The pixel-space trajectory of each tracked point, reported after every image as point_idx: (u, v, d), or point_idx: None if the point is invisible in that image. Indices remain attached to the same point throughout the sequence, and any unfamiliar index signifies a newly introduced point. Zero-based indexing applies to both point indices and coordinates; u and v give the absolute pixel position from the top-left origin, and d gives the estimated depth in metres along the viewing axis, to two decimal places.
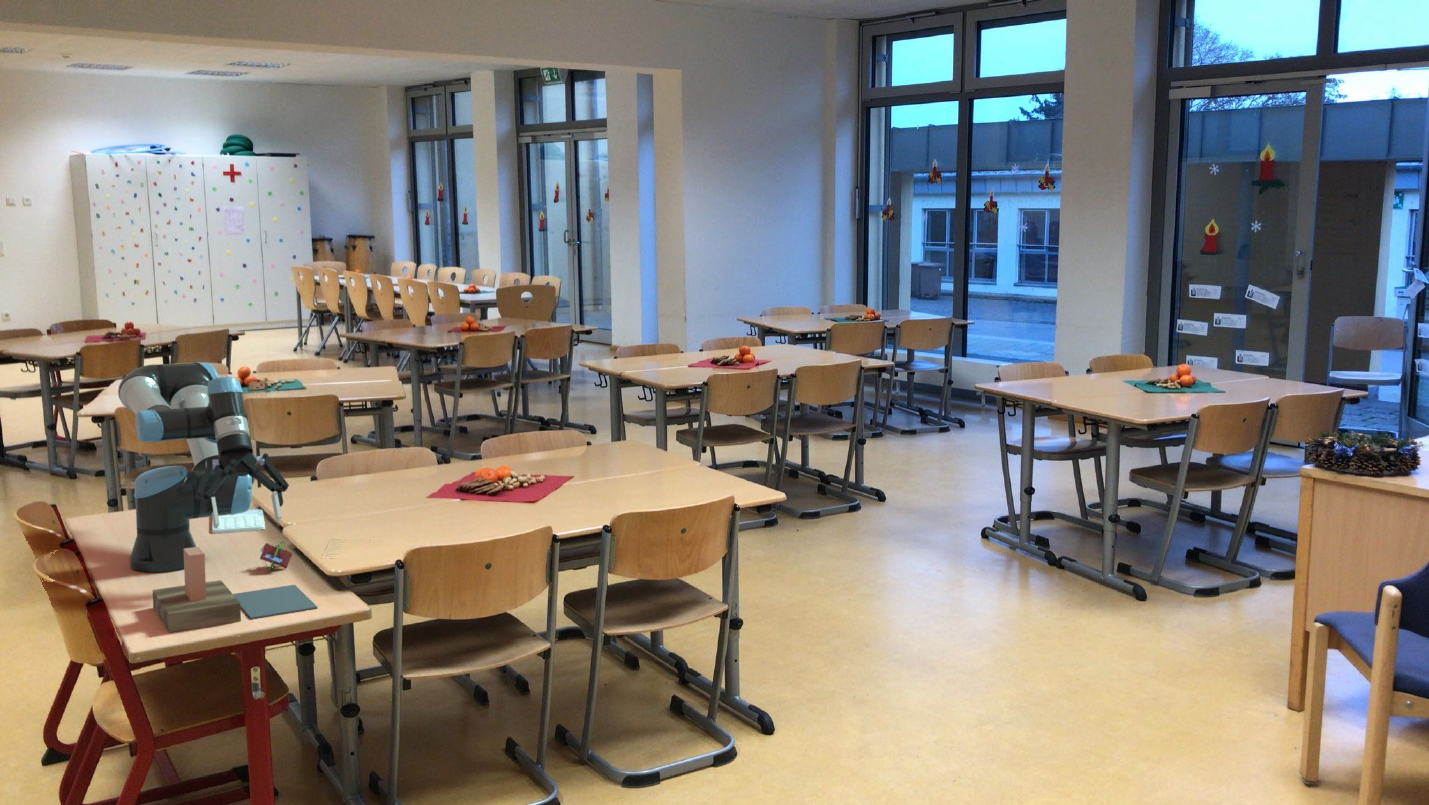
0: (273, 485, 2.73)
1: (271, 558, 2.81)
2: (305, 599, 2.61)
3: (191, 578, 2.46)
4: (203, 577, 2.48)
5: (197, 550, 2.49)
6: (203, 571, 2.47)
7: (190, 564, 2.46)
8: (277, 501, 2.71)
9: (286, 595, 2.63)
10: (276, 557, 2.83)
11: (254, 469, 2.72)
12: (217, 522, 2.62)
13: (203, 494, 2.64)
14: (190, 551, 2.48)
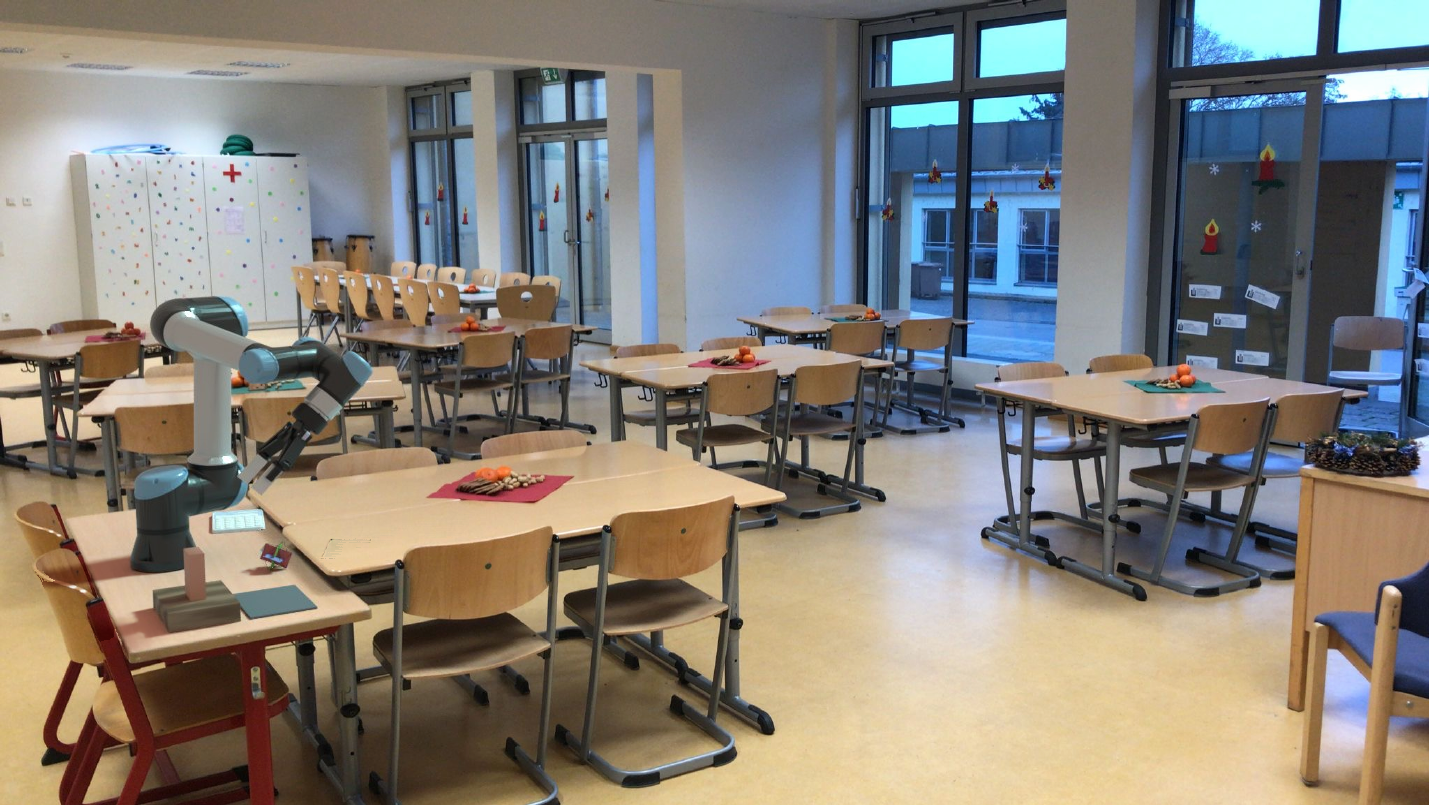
0: None
1: (271, 558, 2.81)
2: (305, 599, 2.61)
3: (191, 578, 2.46)
4: (203, 577, 2.48)
5: (197, 550, 2.49)
6: (203, 571, 2.47)
7: (190, 564, 2.46)
8: None
9: (286, 595, 2.63)
10: (276, 557, 2.83)
11: None
12: None
13: None
14: (190, 551, 2.48)
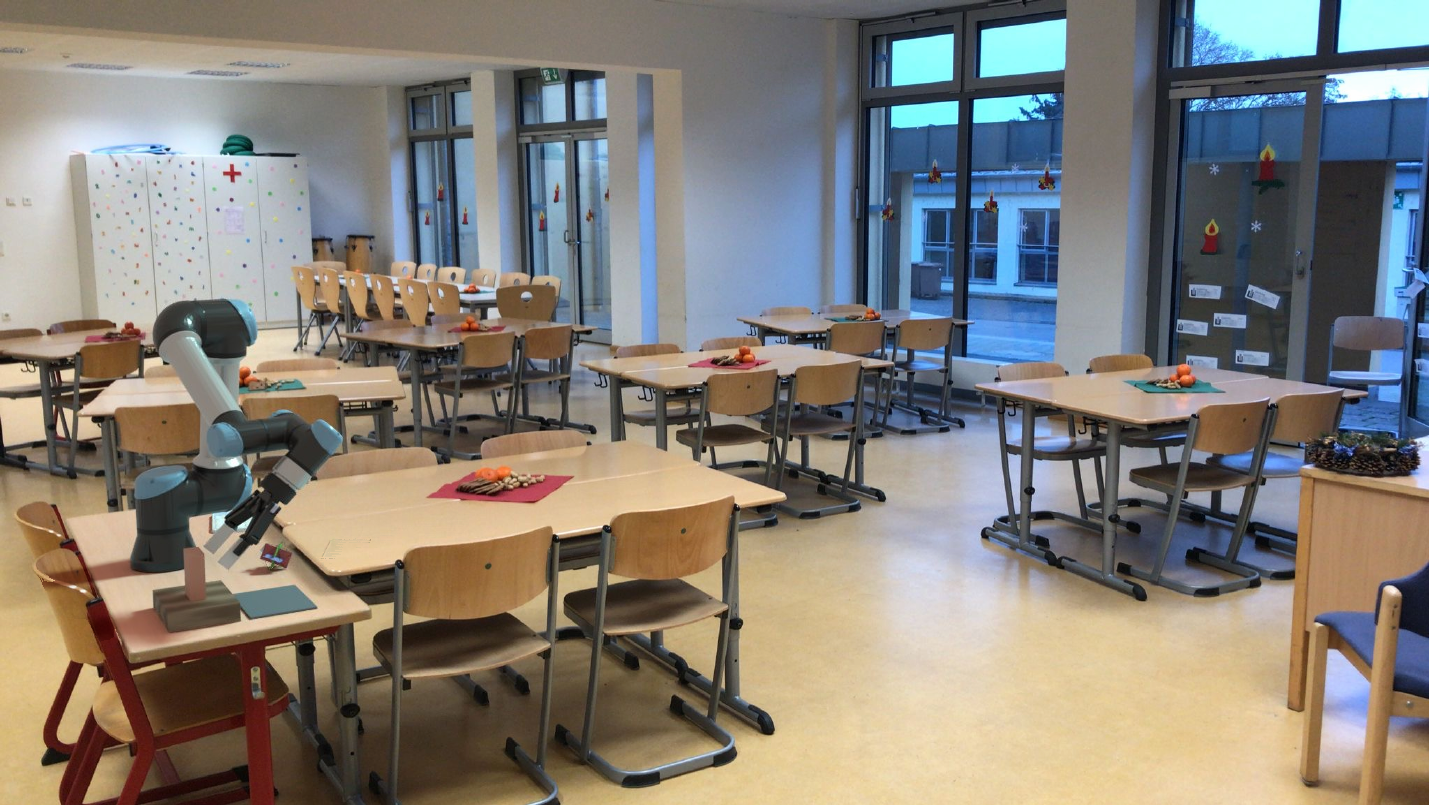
0: None
1: (271, 558, 2.81)
2: (305, 599, 2.61)
3: (191, 578, 2.46)
4: (203, 577, 2.48)
5: (197, 550, 2.49)
6: (203, 571, 2.47)
7: (190, 564, 2.46)
8: None
9: (286, 595, 2.63)
10: (276, 557, 2.83)
11: None
12: None
13: None
14: (190, 551, 2.48)
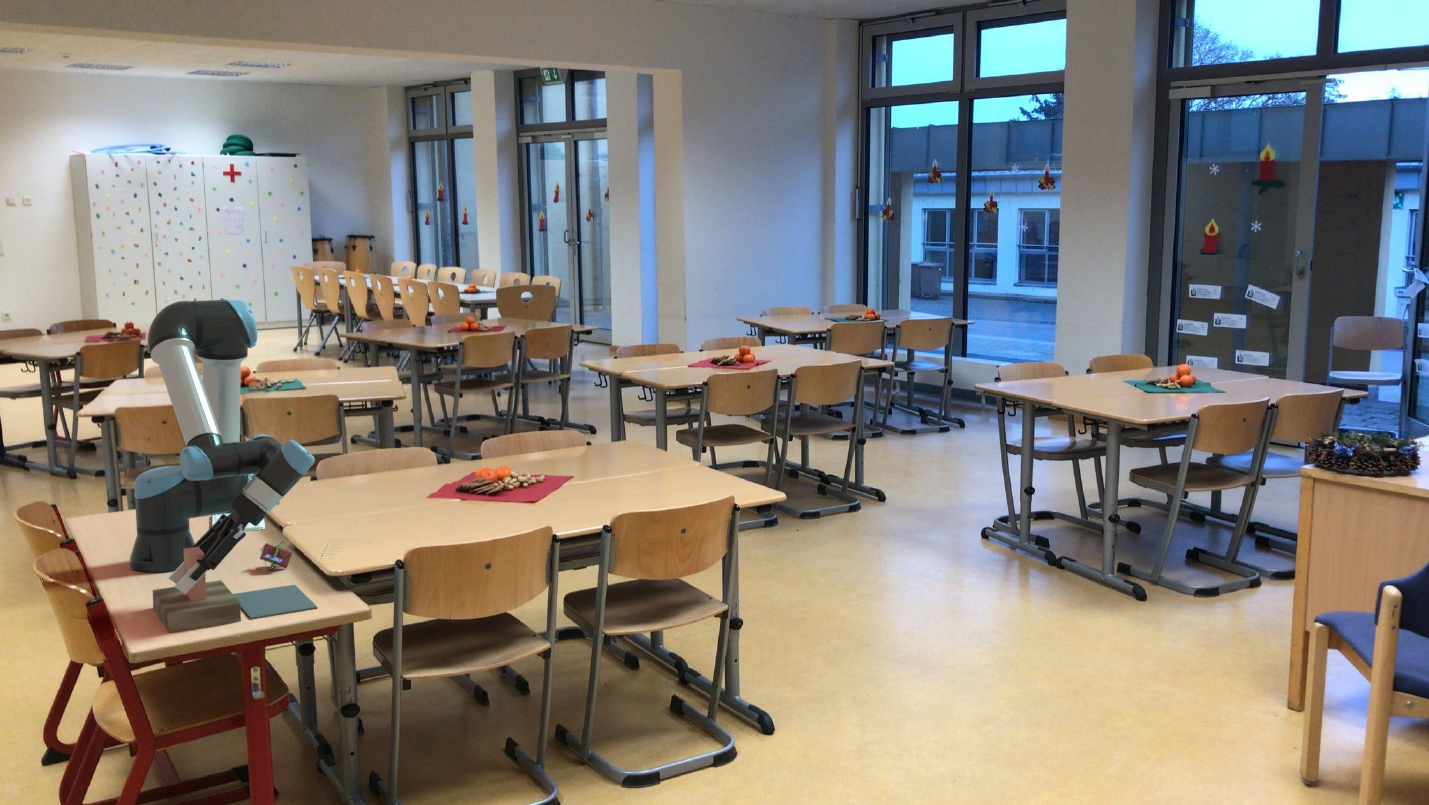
0: None
1: (271, 558, 2.81)
2: (305, 599, 2.61)
3: None
4: (203, 577, 2.48)
5: (197, 550, 2.49)
6: None
7: (190, 564, 2.46)
8: None
9: (286, 595, 2.63)
10: (276, 557, 2.83)
11: None
12: None
13: None
14: (190, 551, 2.48)
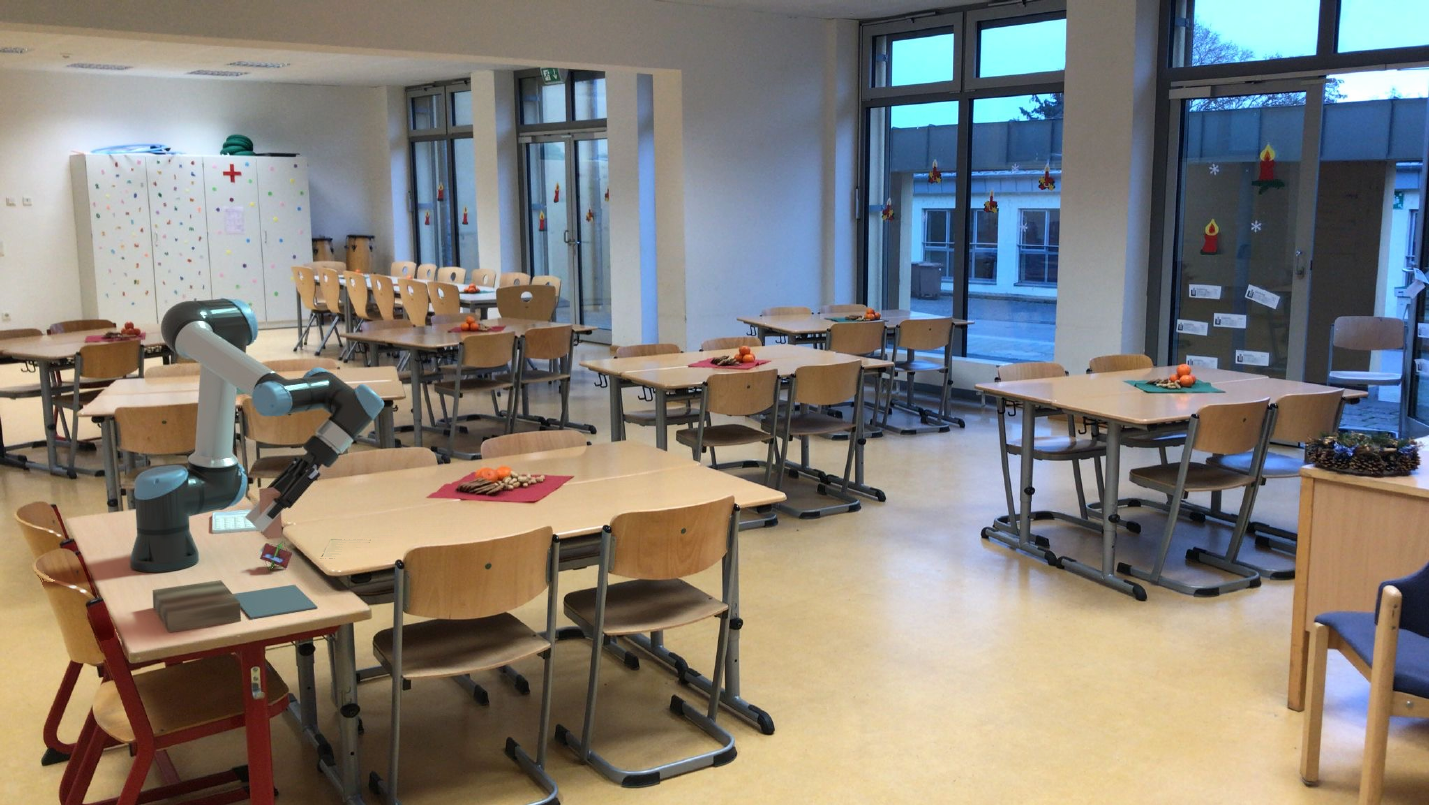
0: None
1: (271, 558, 2.81)
2: (305, 599, 2.61)
3: None
4: (279, 516, 2.55)
5: (273, 490, 2.56)
6: None
7: (267, 503, 2.53)
8: None
9: (286, 595, 2.63)
10: (276, 557, 2.83)
11: None
12: None
13: None
14: (266, 491, 2.55)
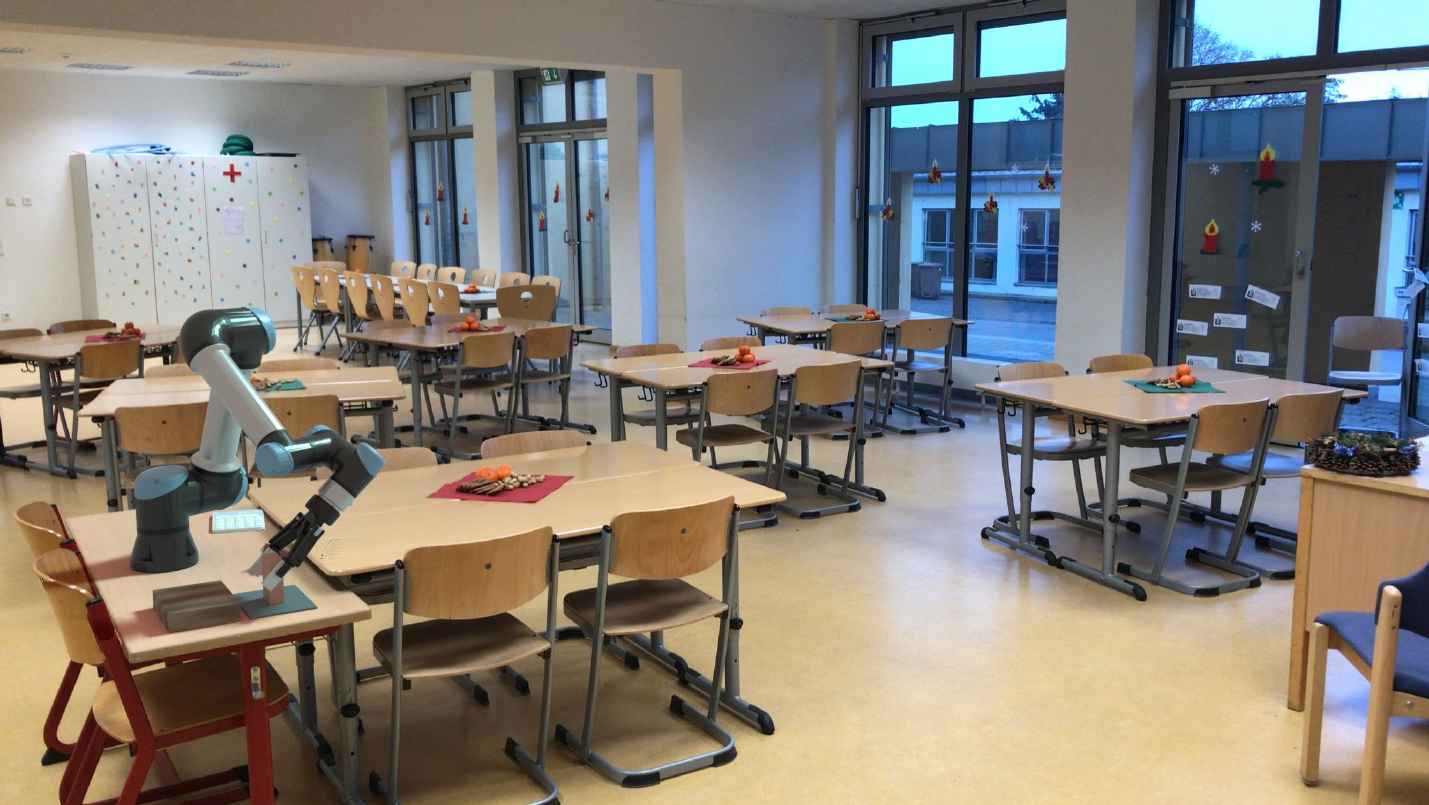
0: None
1: None
2: (305, 599, 2.61)
3: None
4: (281, 582, 2.57)
5: (275, 556, 2.59)
6: None
7: (269, 569, 2.55)
8: None
9: (286, 595, 2.63)
10: None
11: None
12: None
13: None
14: (269, 557, 2.58)
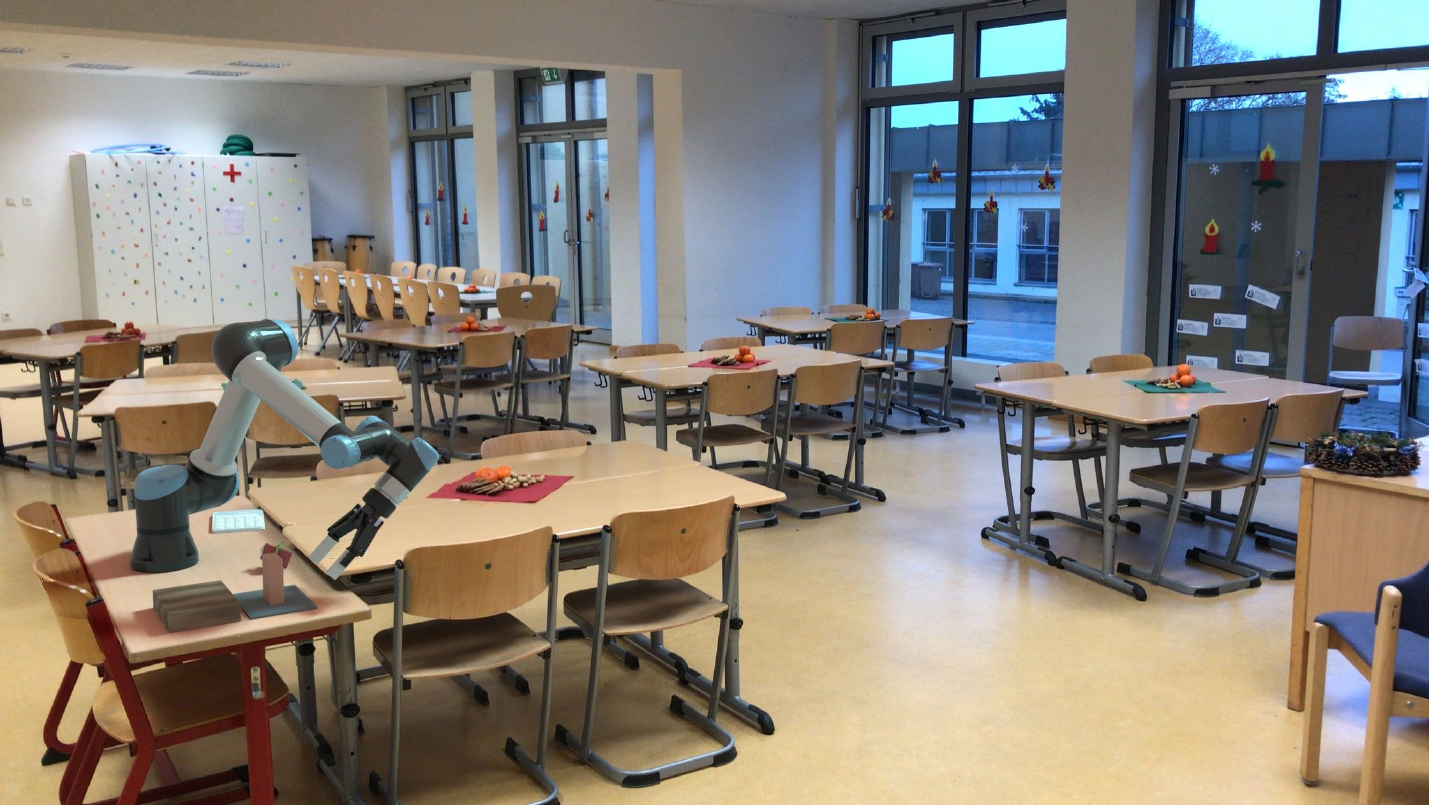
0: None
1: None
2: (305, 599, 2.61)
3: (270, 583, 2.56)
4: (281, 582, 2.57)
5: (275, 556, 2.59)
6: (281, 576, 2.57)
7: (269, 569, 2.55)
8: None
9: (286, 595, 2.63)
10: None
11: None
12: None
13: None
14: (269, 557, 2.58)
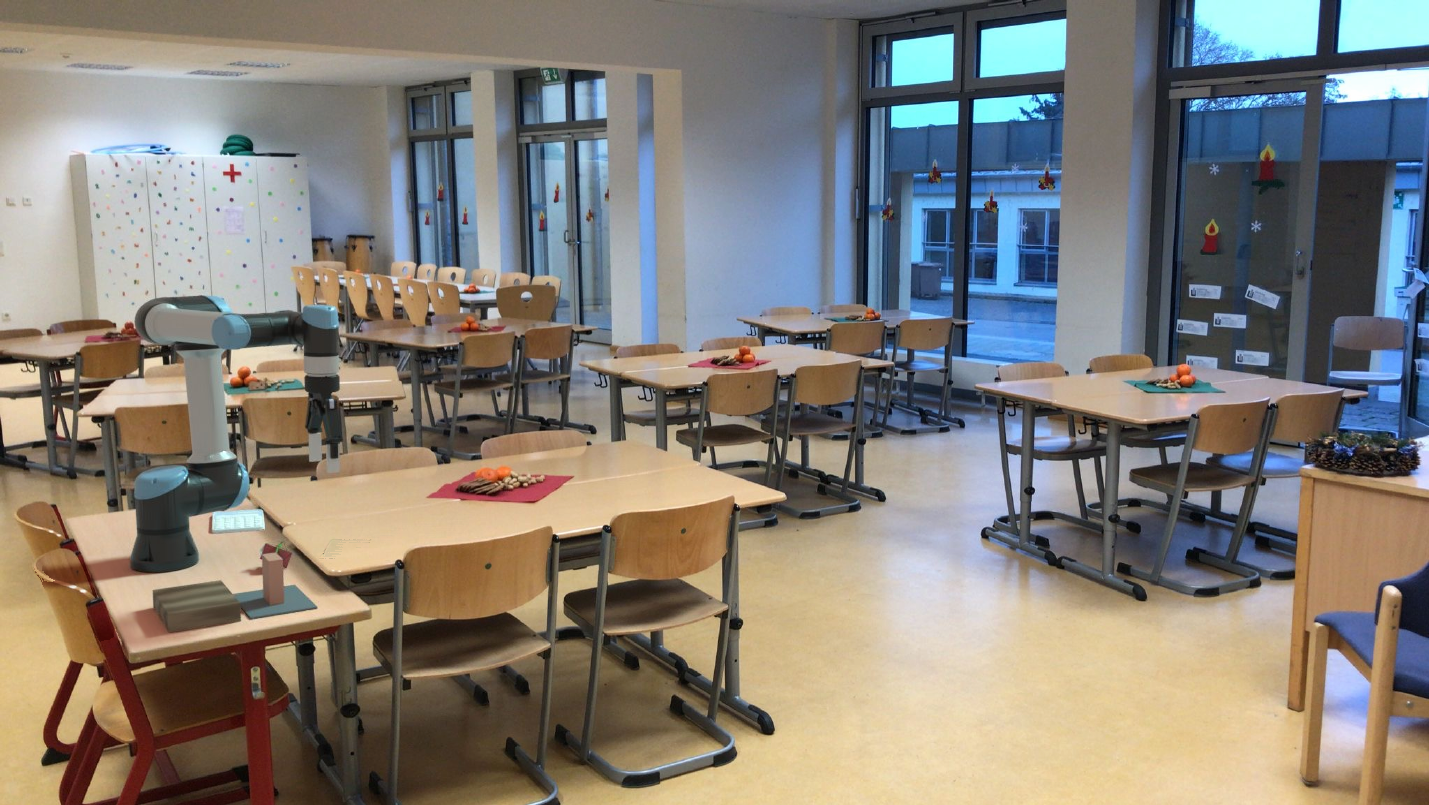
0: None
1: None
2: (305, 599, 2.61)
3: (270, 583, 2.56)
4: (281, 582, 2.57)
5: (275, 556, 2.59)
6: (281, 576, 2.57)
7: (269, 569, 2.55)
8: None
9: (286, 595, 2.63)
10: None
11: None
12: None
13: None
14: (269, 557, 2.58)
